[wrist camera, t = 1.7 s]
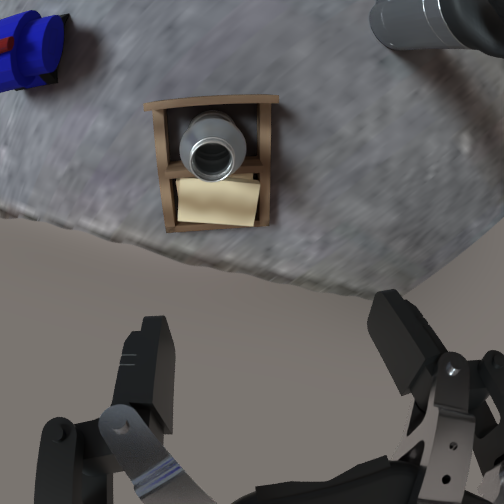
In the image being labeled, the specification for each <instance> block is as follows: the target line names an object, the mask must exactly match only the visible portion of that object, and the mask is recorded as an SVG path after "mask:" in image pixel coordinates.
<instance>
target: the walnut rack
mask: <svg viewBox="0 0 504 504" xmlns="http://www.w3.org/2000/svg"><path fill="white" fill-rule="evenodd" d="M234 103H257V156H245V159H244V161H243V163H242V164H241V166H240V167H239V168H238V169H237V170H236V171H235V172H234V173H233V174H247V173H257V180H258V181H259V183H260V190H259V196H258V202H257V213H256V214H255V219H254V225H253V226H240V225H227V224H214V223H199V222H183V221H178V218H177V214H176V206H175V198H174V189H173V180H172V179H173V178H184V177H196V176H195V175H193V174H192V173H191V172H190V171H188V169H187V168H186V167H185V166H184V164H183V162H182V160H179V161H171V160H170V148H169V136H168V122H167V108H176V107H186V106H198V105H212V104H234ZM271 103H279V95H267V94H246V95H216V96H201V97H188V98H178V99H169V100H161V101H154V102H149V103H144V111H151V110H152V112H153V125H154V137H155V148H156V158H157V167H158V176H159V184H160V192H161V200H162V207H163V214H164V221H165V227H166V233H173V232H186V231H199V230H213V229H228V228H243V227H260V226H269V214H270V161H271Z"/></svg>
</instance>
